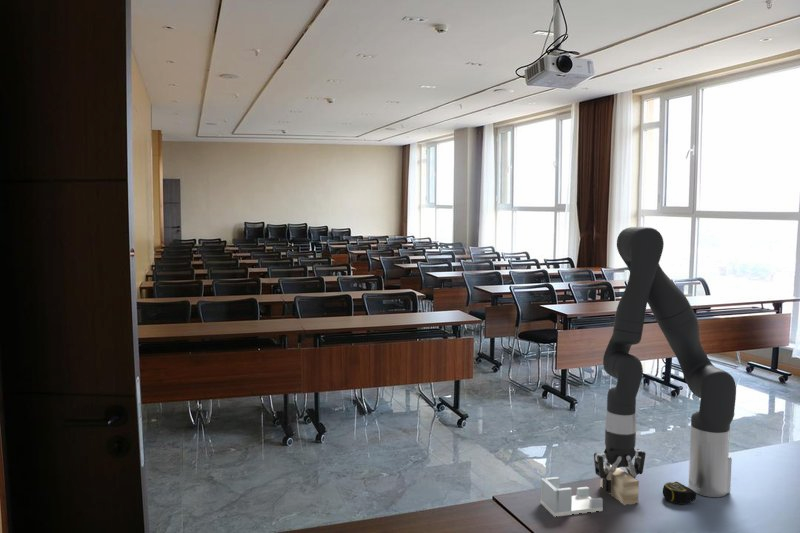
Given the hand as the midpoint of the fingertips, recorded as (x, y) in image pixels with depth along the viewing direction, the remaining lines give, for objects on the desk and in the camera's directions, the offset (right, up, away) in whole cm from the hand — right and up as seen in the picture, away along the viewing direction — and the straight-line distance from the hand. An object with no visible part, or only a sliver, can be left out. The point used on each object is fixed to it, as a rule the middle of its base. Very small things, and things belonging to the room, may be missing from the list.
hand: (618, 490), depth 167 cm
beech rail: (0, -1, 0) cm, 1 cm away
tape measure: (+15, -2, -2) cm, 15 cm away
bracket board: (-14, -2, -7) cm, 16 cm away
